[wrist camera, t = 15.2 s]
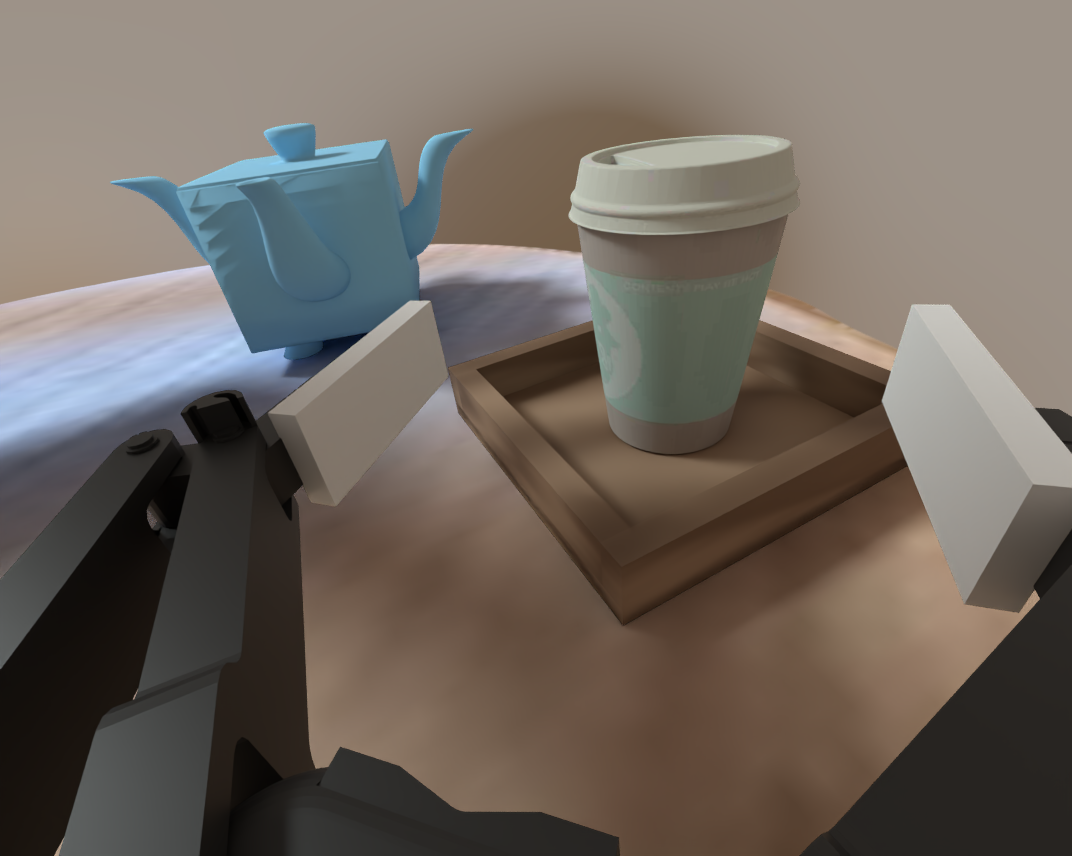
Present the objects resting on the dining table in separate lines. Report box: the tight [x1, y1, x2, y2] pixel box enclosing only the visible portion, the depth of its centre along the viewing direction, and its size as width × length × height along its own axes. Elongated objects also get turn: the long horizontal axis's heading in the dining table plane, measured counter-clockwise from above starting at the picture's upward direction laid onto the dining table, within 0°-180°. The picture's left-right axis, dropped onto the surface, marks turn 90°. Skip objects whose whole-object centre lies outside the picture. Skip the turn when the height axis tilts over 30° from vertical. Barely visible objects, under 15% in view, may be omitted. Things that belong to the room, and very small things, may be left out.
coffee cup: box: [569, 135, 800, 454], centre depth 22 cm, size 8×9×12 cm
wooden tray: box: [448, 320, 908, 625], centre depth 26 cm, size 16×16×3 cm
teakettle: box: [110, 123, 473, 360], centre depth 39 cm, size 19×19×15 cm
